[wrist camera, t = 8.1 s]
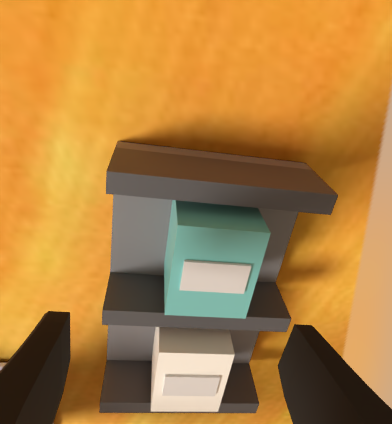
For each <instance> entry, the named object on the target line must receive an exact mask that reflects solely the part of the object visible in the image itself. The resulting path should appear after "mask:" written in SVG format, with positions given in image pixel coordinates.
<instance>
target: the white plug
mask: <svg viewBox="0 0 392 424" xmlns="http://www.w3.org/2000/svg"><path fill="white" fill-rule="evenodd" d="M234 356H235V354H234V349H233V344H232V340H231V335H230V331H229V330H225V329H200V328H174V327H156V328H155V336H154V344H153V351H152V379H151V412H218V410H219V407H220V403H221V400H222V396H223V393H224V390H225V386H226V383H227V379H228V376H229V373H230V369H231V366H232V362H233V359H234Z"/></svg>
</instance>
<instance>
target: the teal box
mask: <svg viewBox="0 0 392 424" xmlns="http://www.w3.org/2000/svg"><path fill="white" fill-rule="evenodd" d="M270 234H271V232H270V231H269V229H268V227H267V225H266V223H265V221H264V219H263V217H262V215H261V213H260V211H259V209H258V208H253V207H242V206H232V205H221V204H210V203H200V202H189V201H178V200H172V207H171V215H170V223H169V230H168V238H167V246H166V253H165V261H164V302H165V315H176V316H198V317H220V318H242V319H246V316H247V312H248V309H249V305H250V302H251V299H252V295H253V292H254V288H255V285H256V282H257V278H258V275H259V271H260V268H261V265H262V261H263V258H264V255H265V251H266V248H267V244H268V241H269V238H270Z"/></svg>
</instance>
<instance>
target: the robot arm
mask: <svg viewBox="0 0 392 424" xmlns="http://www.w3.org/2000/svg"><path fill="white" fill-rule="evenodd" d="M69 363H70V312H54V311H48V312H47V313H45V315H44V316H43V317H42V319H41V320H40V322H39V323H38V324H37V326H36V327H35V328H34V330H33V331H32V332H31V334H30V335H29V336H28V338H27V339H26V340H25V341H24V343H23V344H22V345H21V346H20V348H19V349H18V350H17V351H16V353H15V354H14V355H13V356H12V357H11V359H10V360H9V361H8V362H7V363H1V362H0V424H54V419H55V415H56V412H57V409H58V406H59V403H60V400H61V397H62V394H63V390H64V385H65V381H66V377H67V372H68V367H69ZM278 369H279V374H280V379H281V384H282V388H283V393H284V397H285V400H286V403H287V407H288V410H289V413H290V416H291V419H292V422H293V424H392V409H391V408H390V407H389V406H388V405H387V404H385V402H384V401H383V400H382V399H381V398H379V397H378V395H377V394H375V392H374V391H373V390H372V389H371V388H370V387H369V386H367V384H365V382H364V381H363V380H362V379H361V378H360V377H359V376H358V375H357V374H356V373H355V372H354V371H353V370H352V368H350V366H349V365H348V364H347V363H346V362H345V361H344V360H343V359H342V358H341V356H340V355H339V354H338V353H337V352H336V351H335V350H334V349H333V348H332V347H331V346H330V344H329V343H328V342H327V341H326V340H325V339H324V338H323V337H322V336H321V335H320V334H319V332H318V331H317V330H316V329H315V328H314V327H313V326H312V325H296V324H295V325H294V327H293V330H292V332H291V335H290V337H289V339H288V342H287V344H286V347H285V349H284V352H283V354H282V357H281V359H280V362H279V364H278Z"/></svg>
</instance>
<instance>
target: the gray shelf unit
mask: <svg viewBox="0 0 392 424" xmlns="http://www.w3.org/2000/svg"><path fill="white" fill-rule="evenodd" d="M106 194H114V195H113V220H112V244H111V269H110V277H109V281H108V286H107V291H106V296H105V301H104V306H103V313H102V325H108V342H107V362H106V368H105V374H104V380H103V386H102V392H101V399H100V413H256V411H257V408H258V406H259V401H258V397H257V393H256V389H255V385H254V382H253V378H252V374H251V370H250V366H249V362H250V359H251V356H252V353H253V349H254V346H255V343H256V340H257V337H258V334H259V331H275V332H287V329H288V326H289V324H290V321H291V317H290V315H289V312H288V310H287V308H286V306H285V303H284V301H283V299H282V296H281V294H280V292H279V289H278V287H277V285H276V283H275V282H276V279H277V276H278V273H279V270H280V267H281V264H282V261H283V258H284V255H285V252H286V249H287V246H288V243H289V240H290V237H291V233H292V230H293V227H294V224H295V221H296V218H297V215H298V212H306V213H317V214H327V215H331V213H332V210H333V208H334V205H335V202H336V200H337V197H338V195H337V194H336V193H335V192H334V191H333V190H332V189H331V188H330V187H329V186H328V185H327V184H326V183H325V182H324V181H323V180H322V179H321V178H320V177H319V176H318V175H317V174H316V173H315V172H314V171H313V170H312V169H311V168H310V167H309V166H308V165H307V164H306V163H301V162H293V161H284V160H276V159H267V158H259V157H250V156H241V155H233V154H224V153H216V152H207V151H198V150H190V149H181V148H173V147H164V146H156V145H147V144H138V143H130V142H121V141H118V142H117V145H116V147H115V150H114V153H113V155H112V158H111V161H110V164H109V166H108V169H107V177H106ZM172 200H178V201H189V202H200V203H210V204H221V205H232V206H242V207H253V208H258V209H259V211H260V213H261V215H262V217H263V219H264V221H265V223H266V225H267V227H268V229H269V231H270V232H271V234H270V238H269V241H268V244H267V248H266V251H265V255H264V258H263V261H262V265H261V268H260V271H259V275H258V278H257V282H256V285H255V288H254V292H253V295H252V299H251V302H250V305H249V309H248V312H247V316H246V319H242V318H220V317H198V316H176V315H165V302H164V261H165V253H166V246H167V238H168V230H169V223H170V215H171V207H172ZM156 327H174V328H200V329H225V330H229V331H230V335H231V340H232V344H233V349H234V354H235V356H234V359H233V362H232V366H231V369H230V373H229V376H228V379H227V383H226V386H225V390H224V393H223V396H222V400H221V403H220V407H219V410H218V412H151V379H152V351H153V344H154V336H155V328H156Z"/></svg>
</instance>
